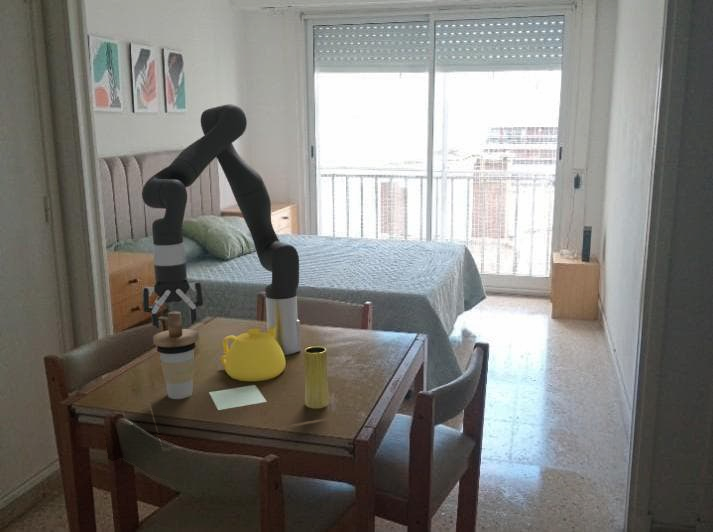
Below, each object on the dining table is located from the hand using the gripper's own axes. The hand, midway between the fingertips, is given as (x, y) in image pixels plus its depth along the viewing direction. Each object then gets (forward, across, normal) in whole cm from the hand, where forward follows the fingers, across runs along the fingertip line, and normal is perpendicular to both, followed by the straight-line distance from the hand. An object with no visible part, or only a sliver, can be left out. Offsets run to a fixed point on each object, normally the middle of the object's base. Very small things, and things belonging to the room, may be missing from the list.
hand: (174, 325), depth 170 cm
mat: (+19, -13, +8) cm, 24 cm away
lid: (+4, 0, 0) cm, 4 cm away
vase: (+19, -30, +20) cm, 41 cm away
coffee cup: (+19, 0, 0) cm, 19 cm away
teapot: (+19, -22, -10) cm, 31 cm away
